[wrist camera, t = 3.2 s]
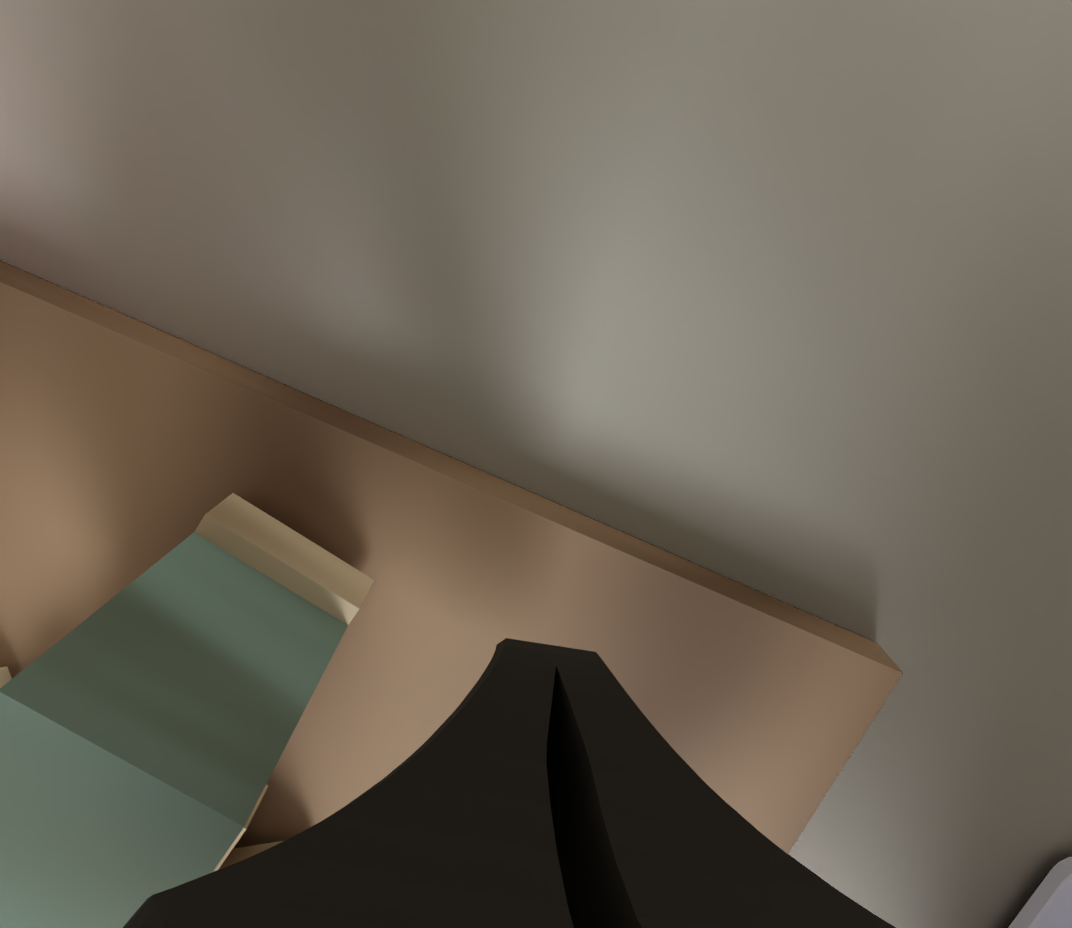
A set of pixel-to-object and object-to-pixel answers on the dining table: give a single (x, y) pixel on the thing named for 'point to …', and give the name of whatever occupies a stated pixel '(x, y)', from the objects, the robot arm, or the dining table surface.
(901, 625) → the dining table surface
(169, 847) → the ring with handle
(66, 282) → the dining table surface
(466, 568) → the post board
